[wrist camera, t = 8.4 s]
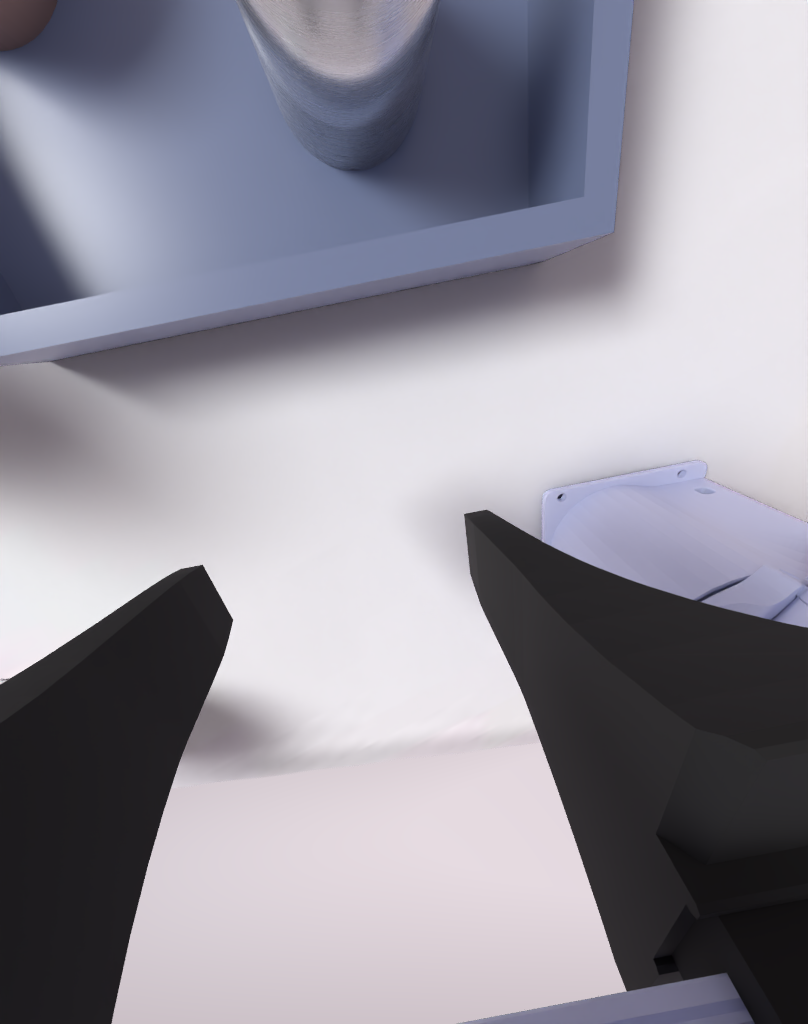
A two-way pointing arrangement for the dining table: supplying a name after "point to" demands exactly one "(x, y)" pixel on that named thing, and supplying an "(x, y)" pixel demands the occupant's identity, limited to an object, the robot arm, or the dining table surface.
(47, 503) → the dining table surface
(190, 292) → the slate blue tote
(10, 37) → the peach round blob
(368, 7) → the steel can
